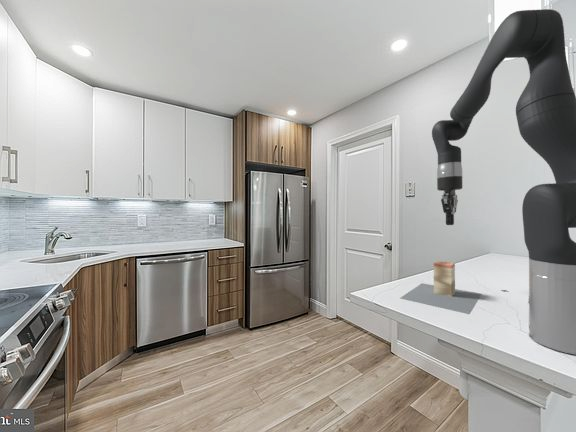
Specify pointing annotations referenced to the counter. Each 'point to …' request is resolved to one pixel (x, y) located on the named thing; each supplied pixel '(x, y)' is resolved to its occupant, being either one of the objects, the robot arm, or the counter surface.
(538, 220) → the robot arm
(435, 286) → the birch block
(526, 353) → the counter surface
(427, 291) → the rubber mat
